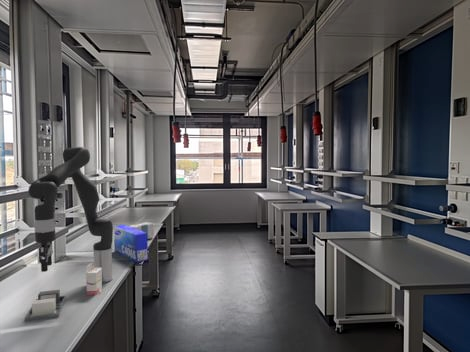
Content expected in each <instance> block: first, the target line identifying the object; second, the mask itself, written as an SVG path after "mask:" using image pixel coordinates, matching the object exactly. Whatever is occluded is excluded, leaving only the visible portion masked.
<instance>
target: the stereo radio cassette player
mask: <svg viewBox="0 0 470 352" xmlns="http://www.w3.org/2000/svg"><path fill="white" fill-rule="evenodd" d="M146 216H147V214H145V215H144V216H143V217H142V219H144V218H145V217H146ZM139 222H141V219H139V221H137V222H136V223H135V224H133V225H128V226H129V227H132V228H135V229H137V230H140V231H143V232H145V233H147V240H150V239H151V240H152V239H153V238H154V233H155V230H154V229H155V228H154V227H155V226H154V223H153V222H147V221H146V222H141V223H139Z"/></svg>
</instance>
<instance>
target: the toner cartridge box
mask: <svg viewBox="0 0 470 352" xmlns="http://www.w3.org/2000/svg"><path fill="white" fill-rule="evenodd" d="M129 226H130V225H126V224H121V225H115V226H113V242H114V243H113V245H114V251H115V252H116V253H118V254H120V255H122V256H124V257H126V258H127V259H130V260H131V261H132V262H135V263H142V262H146V261H149V250H148V249H149V248H148V245H149V244H148V239H147V233H145V232H143V231H140V230H137V229H135V228H132V227H129Z"/></svg>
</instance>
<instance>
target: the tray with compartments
mask: <svg viewBox="0 0 470 352" xmlns="http://www.w3.org/2000/svg"><path fill="white" fill-rule="evenodd" d="M35 300H38V298H36V299H35ZM66 300H67V295H60V303H57V304H56V312H55V313H53V314H45V315H37V316H32V306H31V307H30V308H29V310H28V311H27V314H25V317H24V322H30V321H39V320H47V319H54V318H59V317H60V315H61V312H62V310H63V308H64V305H65V302H66Z"/></svg>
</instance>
